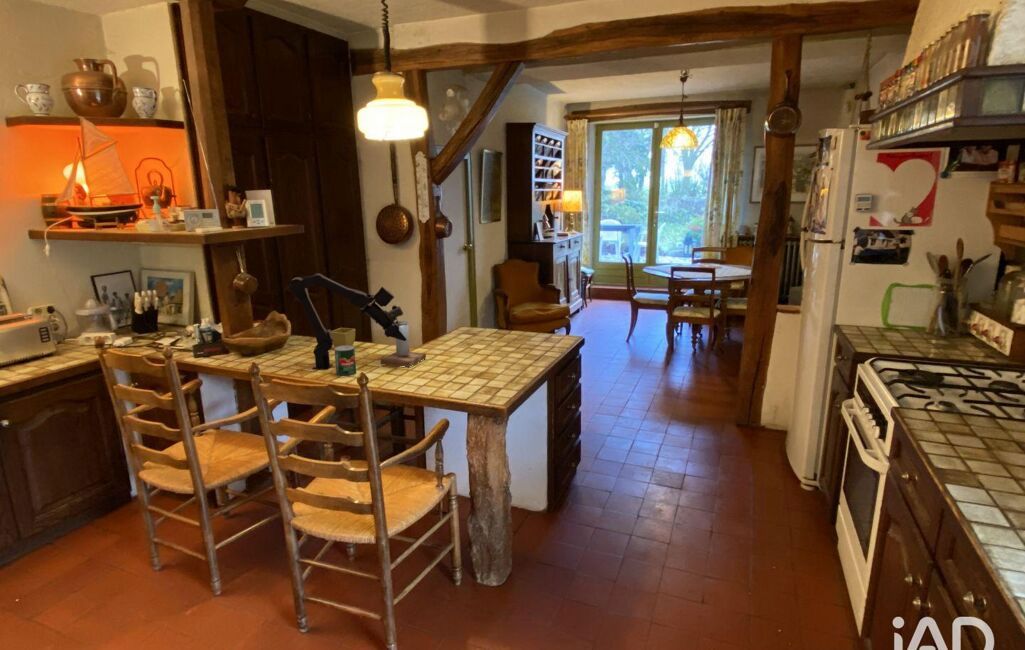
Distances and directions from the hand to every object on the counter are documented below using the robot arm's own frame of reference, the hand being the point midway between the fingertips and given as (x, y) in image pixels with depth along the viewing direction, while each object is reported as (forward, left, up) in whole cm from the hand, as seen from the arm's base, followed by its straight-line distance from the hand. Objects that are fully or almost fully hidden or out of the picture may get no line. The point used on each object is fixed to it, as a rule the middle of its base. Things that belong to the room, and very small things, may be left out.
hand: (405, 338), depth 245 cm
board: (0, +1, -10) cm, 10 cm away
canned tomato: (-18, +20, -11) cm, 29 cm away
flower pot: (+20, +35, -11) cm, 42 cm away
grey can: (0, +1, -7) cm, 7 cm away
